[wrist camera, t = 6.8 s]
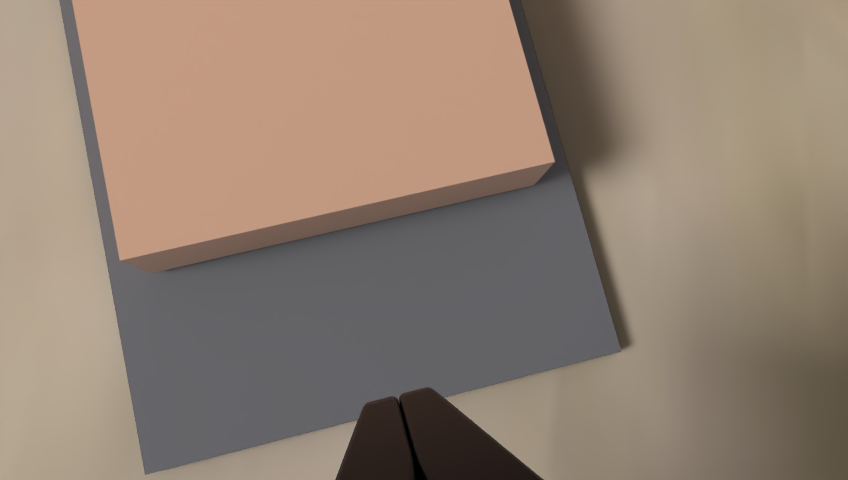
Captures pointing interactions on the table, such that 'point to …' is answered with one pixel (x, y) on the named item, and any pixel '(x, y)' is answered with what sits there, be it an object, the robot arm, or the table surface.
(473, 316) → the mat
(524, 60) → the tile
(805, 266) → the table surface
